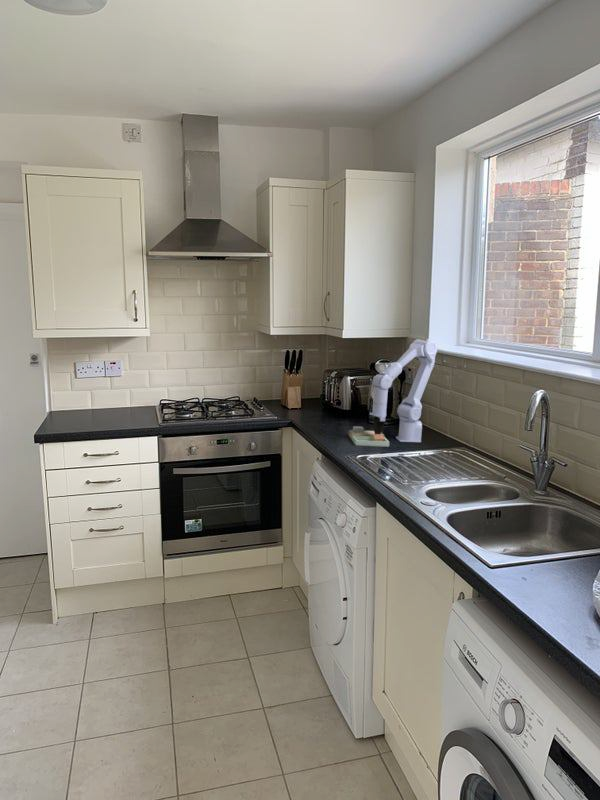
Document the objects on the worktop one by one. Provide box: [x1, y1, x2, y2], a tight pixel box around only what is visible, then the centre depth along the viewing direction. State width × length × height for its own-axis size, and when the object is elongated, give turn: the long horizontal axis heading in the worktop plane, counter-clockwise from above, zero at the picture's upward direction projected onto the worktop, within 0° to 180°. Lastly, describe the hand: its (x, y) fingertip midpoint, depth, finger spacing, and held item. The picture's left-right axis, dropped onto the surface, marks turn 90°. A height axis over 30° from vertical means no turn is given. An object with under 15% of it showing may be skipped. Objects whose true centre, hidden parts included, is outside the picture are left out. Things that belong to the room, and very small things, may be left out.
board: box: [348, 429, 385, 441], centre depth 264 cm, size 14×8×2 cm, turn 95°
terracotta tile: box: [373, 434, 385, 441], centre depth 256 cm, size 4×4×2 cm
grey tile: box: [352, 425, 365, 433], centre depth 264 cm, size 4×4×2 cm
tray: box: [351, 436, 390, 447], centre depth 255 cm, size 14×9×2 cm, turn 95°
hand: (377, 434), depth 258 cm, fingers closed
